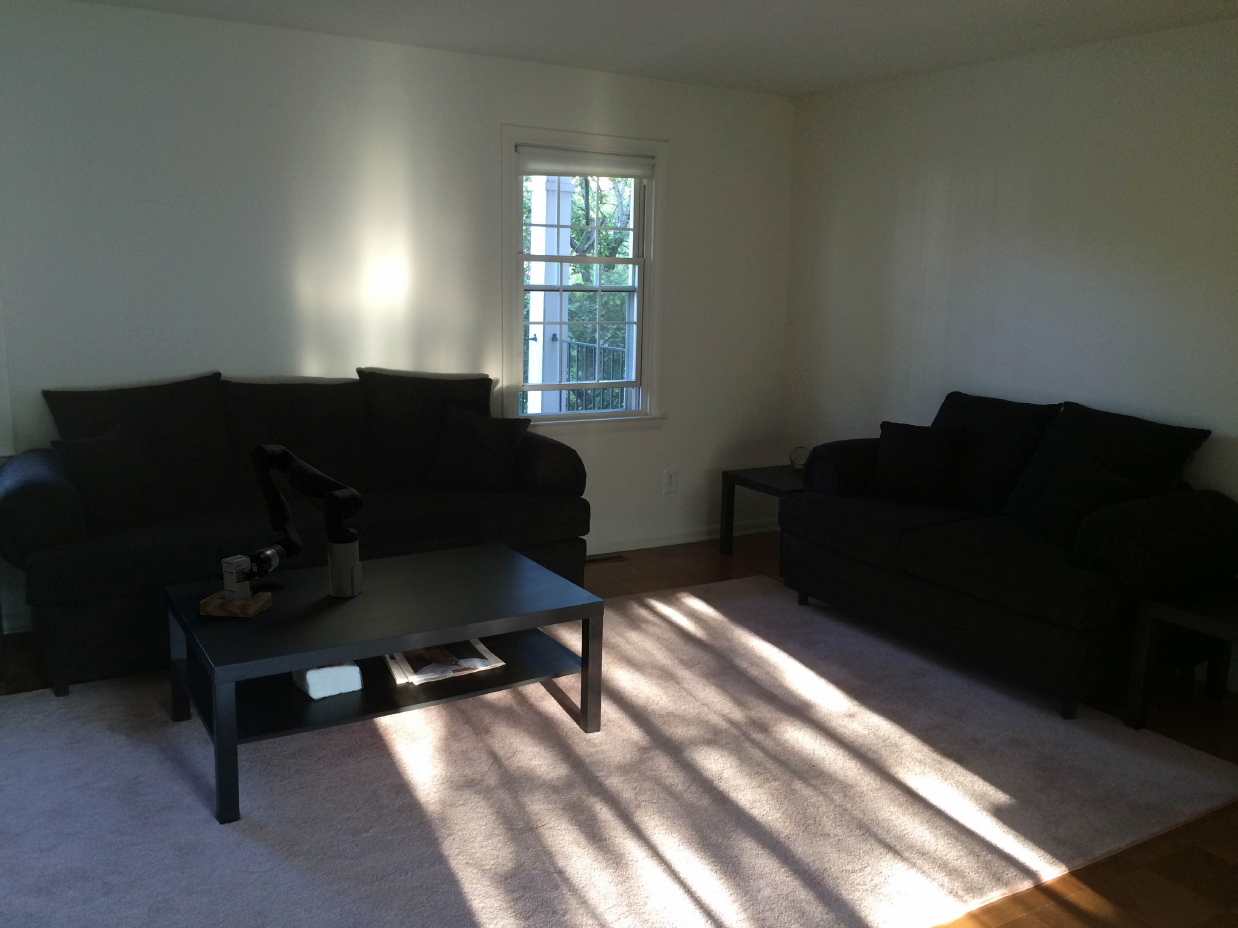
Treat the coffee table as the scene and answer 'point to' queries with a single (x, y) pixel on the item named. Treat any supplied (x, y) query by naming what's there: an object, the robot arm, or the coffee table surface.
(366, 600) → the coffee table surface
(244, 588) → the syrup box
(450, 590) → the coffee table surface
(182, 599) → the coffee table surface
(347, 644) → the coffee table surface
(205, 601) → the cradle
